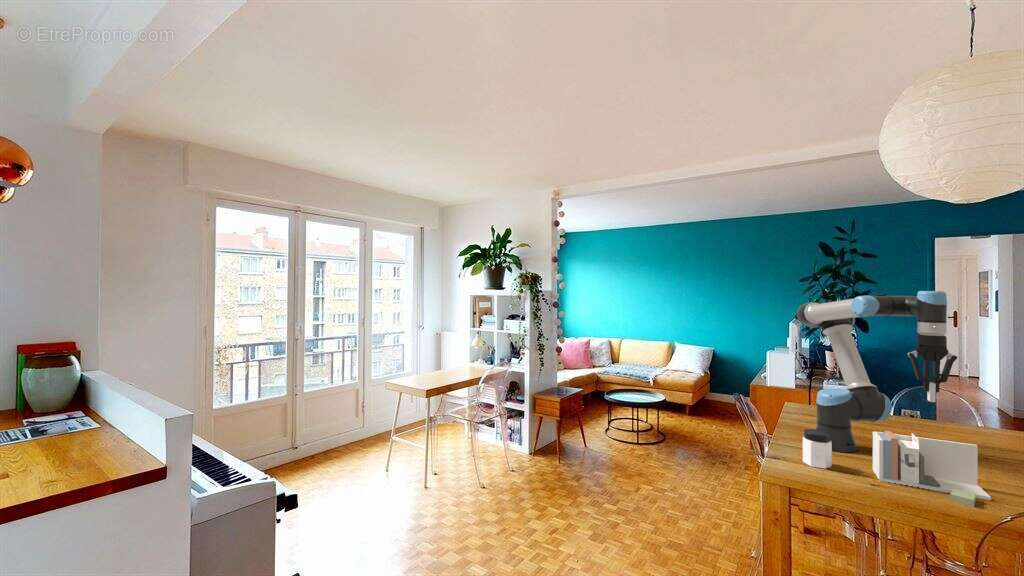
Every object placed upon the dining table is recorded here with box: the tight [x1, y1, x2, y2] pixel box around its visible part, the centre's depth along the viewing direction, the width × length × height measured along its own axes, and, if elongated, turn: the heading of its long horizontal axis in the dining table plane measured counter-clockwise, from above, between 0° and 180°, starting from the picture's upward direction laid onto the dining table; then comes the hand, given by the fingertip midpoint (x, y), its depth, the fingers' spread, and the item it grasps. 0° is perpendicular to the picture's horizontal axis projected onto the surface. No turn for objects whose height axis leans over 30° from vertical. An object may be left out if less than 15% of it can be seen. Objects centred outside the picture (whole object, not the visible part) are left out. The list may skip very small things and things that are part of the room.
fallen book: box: [949, 488, 977, 508], centre depth 135 cm, size 7×5×2 cm
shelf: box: [872, 430, 992, 501], centre depth 147 cm, size 27×11×15 cm, turn 60°
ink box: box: [898, 432, 919, 484], centre depth 149 cm, size 9×5×15 cm, turn 149°
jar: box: [802, 428, 833, 470], centre depth 163 cm, size 9×8×12 cm
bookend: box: [919, 452, 941, 487], centre depth 147 cm, size 5×8×9 cm, turn 150°
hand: (931, 401), depth 154 cm, fingers closed
